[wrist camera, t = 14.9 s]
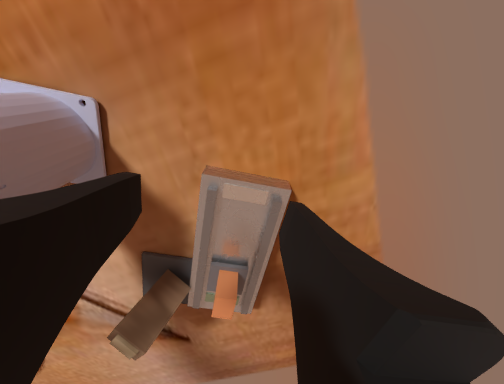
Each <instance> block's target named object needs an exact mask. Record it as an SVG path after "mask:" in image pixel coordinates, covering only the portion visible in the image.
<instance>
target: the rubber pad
mask: <svg viewBox="0 0 504 384" xmlns="http://www.w3.org/2000/svg"><path fill="white" fill-rule="evenodd" d="M192 260H193V258H186V257H179V256H171V255H164V254H157V253H150V252H143V253H142V277H143V296H144V295H145V294H146V293H147V292H148V291H149V290H150V288H151V287H152V286H153V285H154V284H155V283H156V282H157V281H158V280H159V278H160V277H161V276H162V275H163V274H164V273H165V272H166V271H167V270H168V269H169V270H170V271H171V272H172V273H173V274H175V275H176V276H177V277H178V278H179V279H181V280H182V281H183V282H184V283H185V284H187V285H188V286H189V287H190V278H191V269H192ZM188 297H189V292H188V294H187V295H186V297H185V298H184V300H183V301H182V302H181V303H182V304H188Z"/></svg>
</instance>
